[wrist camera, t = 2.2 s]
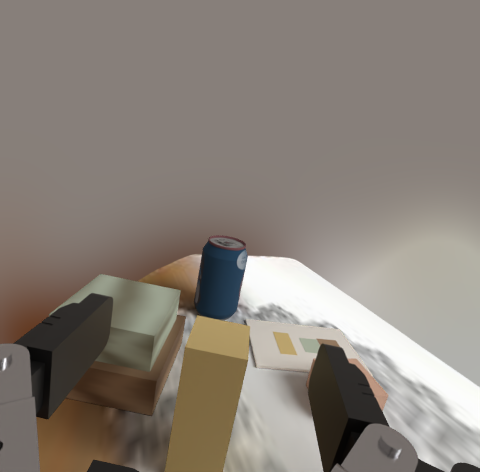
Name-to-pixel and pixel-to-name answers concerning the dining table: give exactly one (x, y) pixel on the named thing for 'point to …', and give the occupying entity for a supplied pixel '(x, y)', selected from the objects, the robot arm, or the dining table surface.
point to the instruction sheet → (293, 345)
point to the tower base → (129, 380)
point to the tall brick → (208, 395)
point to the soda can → (220, 277)
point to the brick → (375, 387)
